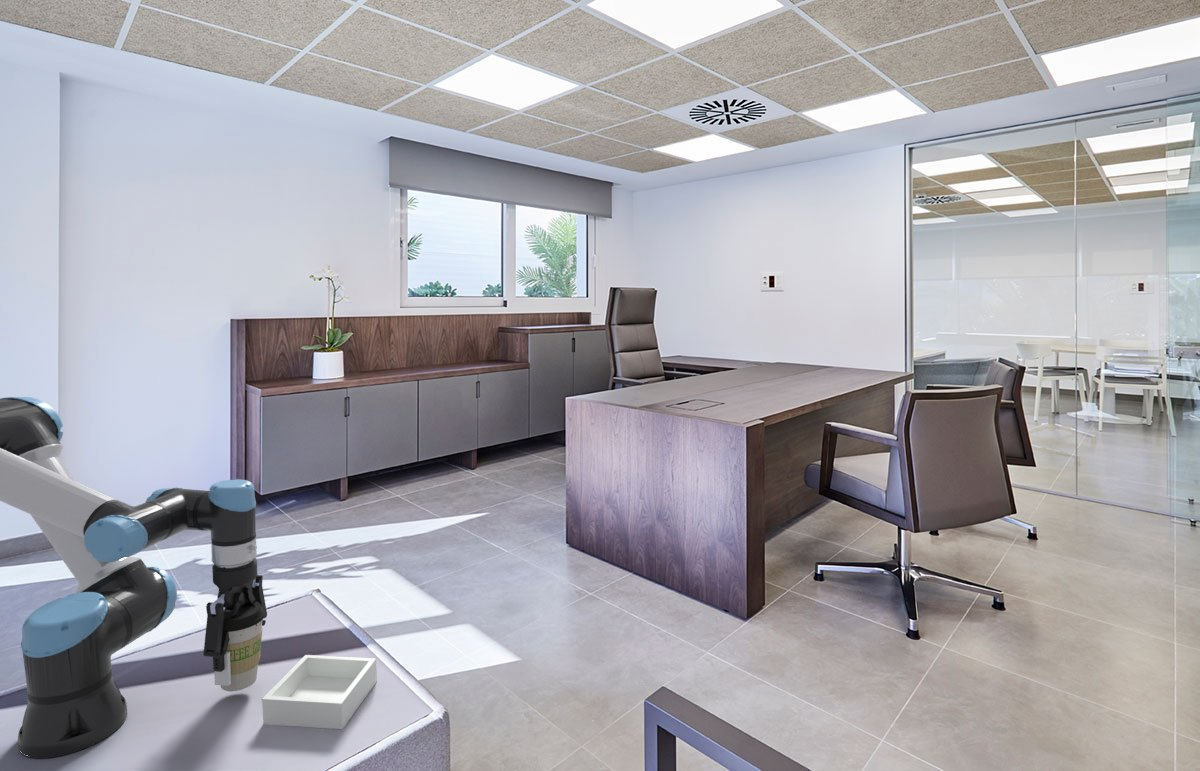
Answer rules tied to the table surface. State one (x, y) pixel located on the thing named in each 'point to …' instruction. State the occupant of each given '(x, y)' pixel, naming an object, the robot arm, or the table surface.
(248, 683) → the coffee cup
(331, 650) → the table surface
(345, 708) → the bin
